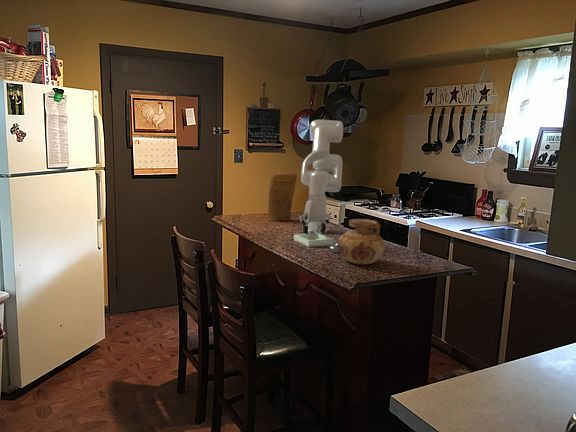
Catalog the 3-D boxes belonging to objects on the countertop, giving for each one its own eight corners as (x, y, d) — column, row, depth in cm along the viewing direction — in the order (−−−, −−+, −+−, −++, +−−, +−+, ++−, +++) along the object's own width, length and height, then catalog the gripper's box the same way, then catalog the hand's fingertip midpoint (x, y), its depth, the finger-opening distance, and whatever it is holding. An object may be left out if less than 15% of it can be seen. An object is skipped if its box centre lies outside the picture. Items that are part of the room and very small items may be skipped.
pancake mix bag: (296, 221, 290) (299, 174, 285) (268, 222, 281) (271, 174, 276) (291, 219, 296) (294, 173, 291) (263, 220, 286) (266, 173, 282)
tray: (318, 238, 244) (318, 233, 244) (333, 245, 232) (333, 239, 232) (293, 240, 237) (294, 234, 237) (308, 247, 225) (308, 240, 225)
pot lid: (339, 248, 225) (340, 241, 225) (349, 253, 219) (350, 245, 218) (325, 249, 222) (326, 242, 221) (335, 254, 215) (335, 246, 214)
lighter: (308, 241, 233) (309, 225, 231) (306, 241, 234) (307, 224, 233) (321, 241, 236) (322, 225, 234) (319, 240, 237) (320, 224, 236)
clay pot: (355, 263, 189) (349, 214, 193) (333, 269, 206) (327, 223, 209) (395, 260, 197) (388, 213, 201) (371, 266, 214) (364, 222, 217)
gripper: (327, 197, 238) (324, 230, 241) (297, 197, 230) (294, 232, 233) (335, 199, 232) (333, 234, 235) (304, 199, 224) (302, 235, 227)
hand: (314, 233), depth 234 cm, fingers open, 9 cm apart
